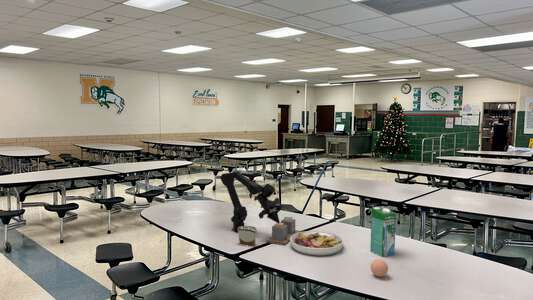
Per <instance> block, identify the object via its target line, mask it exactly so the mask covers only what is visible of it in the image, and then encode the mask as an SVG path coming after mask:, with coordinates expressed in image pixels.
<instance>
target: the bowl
mask: <svg viewBox="0 0 533 300" xmlns="http://www.w3.org/2000/svg"><path fill="white" fill-rule="evenodd" d="M289 243H290V246H291V247H292V248H293V249H294V250H295V251H297V252H299V253H301V254H305V255H310V256H330V255H334V254H336V253H338V252H339V251H340V250H341V249H342V248H343V246H344V240H343V238H342V237H341V236H339V235H337V234H334V233H331V232H325V231H316V230H314V231H313V230H310V231H308V230H307V231H300V233H296V234H294V235H292V236H291V237H290V242H289Z"/></svg>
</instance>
